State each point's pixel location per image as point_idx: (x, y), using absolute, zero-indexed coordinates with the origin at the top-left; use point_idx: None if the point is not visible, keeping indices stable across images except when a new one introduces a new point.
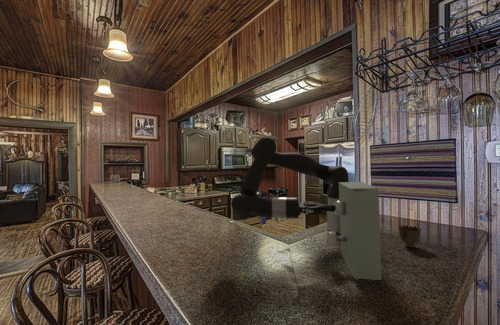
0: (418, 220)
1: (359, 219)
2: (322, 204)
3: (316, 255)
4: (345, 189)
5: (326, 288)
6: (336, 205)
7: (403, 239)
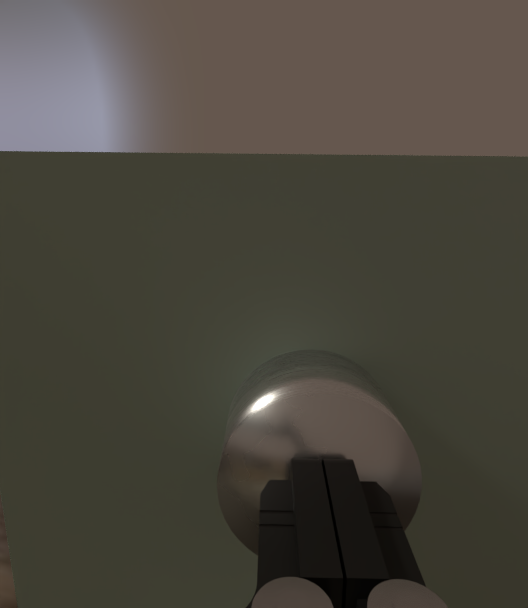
0: None
1: None
2: (329, 595)
3: None
4: (427, 199)
5: None
6: (408, 437)
7: None
